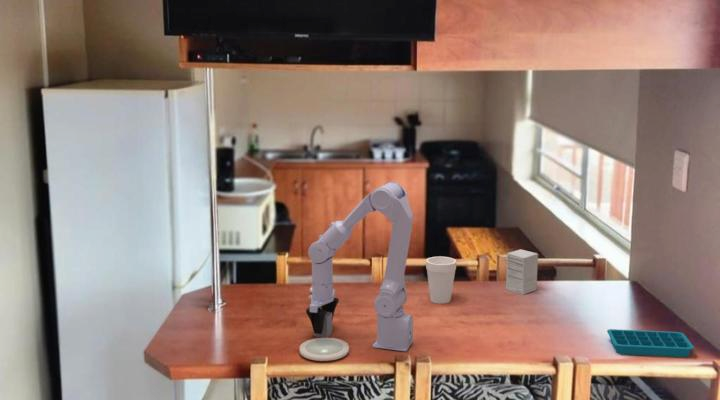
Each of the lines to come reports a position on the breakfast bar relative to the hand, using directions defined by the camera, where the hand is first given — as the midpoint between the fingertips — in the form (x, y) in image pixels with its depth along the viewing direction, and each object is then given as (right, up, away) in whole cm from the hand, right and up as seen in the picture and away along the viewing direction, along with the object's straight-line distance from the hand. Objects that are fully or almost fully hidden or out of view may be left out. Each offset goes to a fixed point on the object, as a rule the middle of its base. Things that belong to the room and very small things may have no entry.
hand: (323, 328), depth 216 cm
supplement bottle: (-2, +2, +19) cm, 19 cm away
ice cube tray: (+88, -4, -10) cm, 88 cm away
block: (0, -2, 0) cm, 2 cm away
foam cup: (+36, +4, +28) cm, 46 cm away
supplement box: (+63, +6, +37) cm, 74 cm away
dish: (+1, -4, -12) cm, 13 cm away
